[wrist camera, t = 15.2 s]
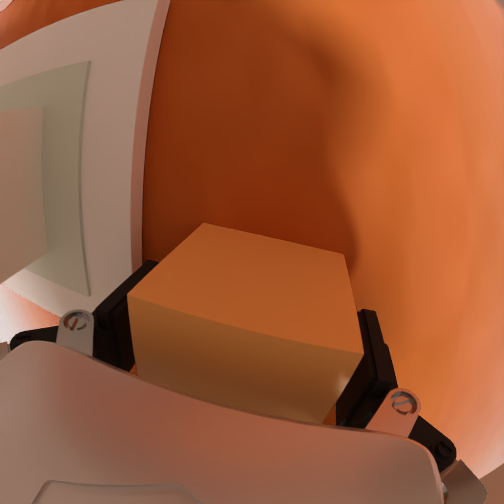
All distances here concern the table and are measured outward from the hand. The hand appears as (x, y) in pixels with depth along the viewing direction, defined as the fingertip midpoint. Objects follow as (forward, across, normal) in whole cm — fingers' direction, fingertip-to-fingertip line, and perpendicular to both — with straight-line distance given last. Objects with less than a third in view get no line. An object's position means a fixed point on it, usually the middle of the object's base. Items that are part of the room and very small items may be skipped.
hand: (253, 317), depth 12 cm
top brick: (+2, 0, 0) cm, 2 cm away
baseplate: (+1, +15, -4) cm, 16 cm away
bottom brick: (0, +15, -4) cm, 15 cm away
